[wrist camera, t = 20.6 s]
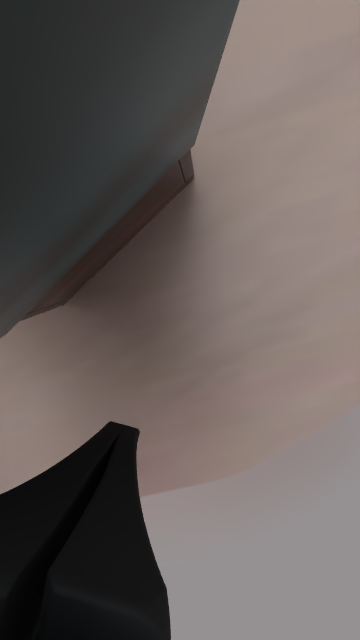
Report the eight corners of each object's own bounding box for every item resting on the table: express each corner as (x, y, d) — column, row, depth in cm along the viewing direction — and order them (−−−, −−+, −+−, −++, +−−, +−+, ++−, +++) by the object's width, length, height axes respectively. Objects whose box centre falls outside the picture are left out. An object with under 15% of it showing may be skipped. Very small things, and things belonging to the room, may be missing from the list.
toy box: (-49, 187, 20) (-160, 158, 14) (74, 28, 17) (1, -97, 11) (63, 305, 22) (6, 326, 16) (194, 177, 19) (189, 140, 12)
